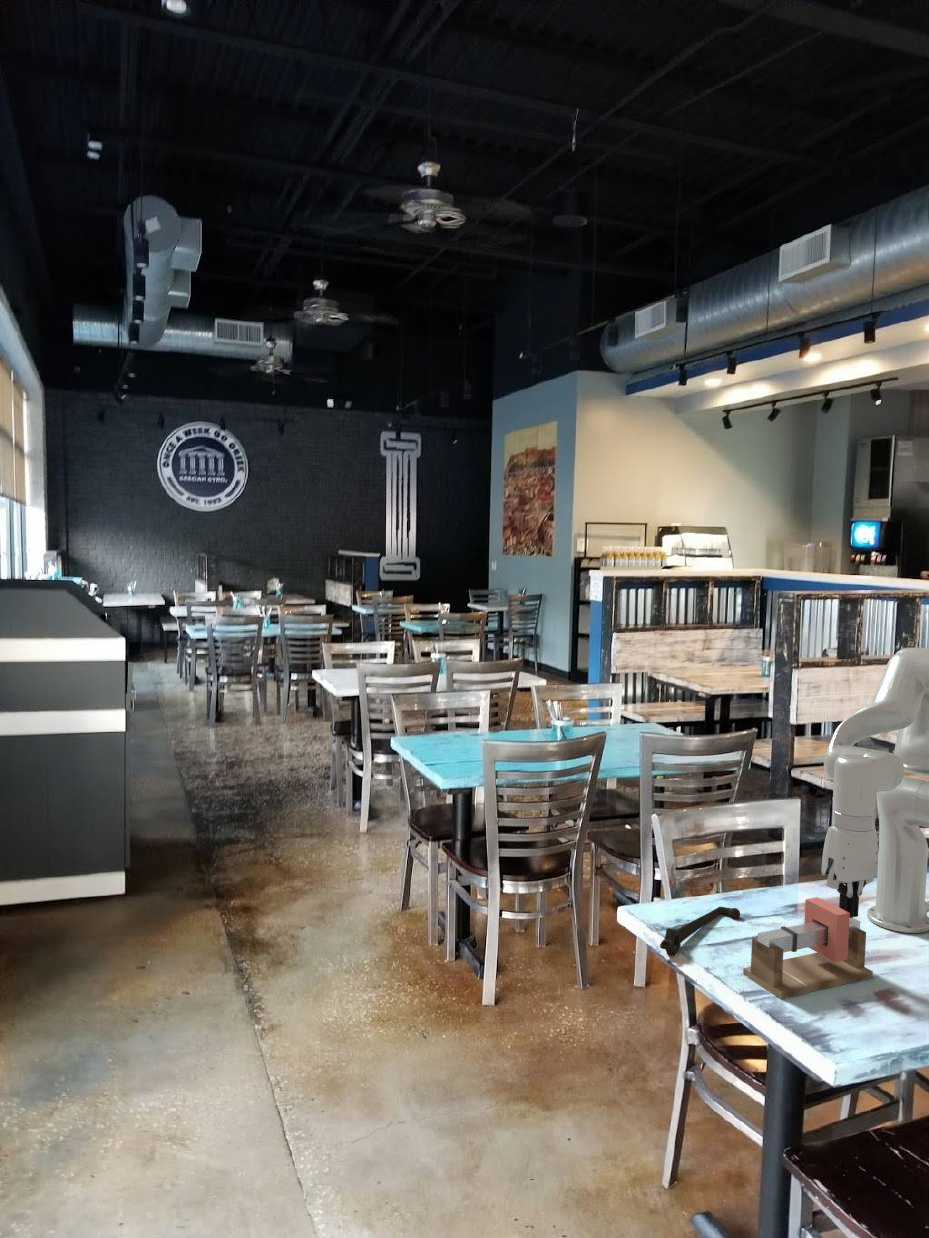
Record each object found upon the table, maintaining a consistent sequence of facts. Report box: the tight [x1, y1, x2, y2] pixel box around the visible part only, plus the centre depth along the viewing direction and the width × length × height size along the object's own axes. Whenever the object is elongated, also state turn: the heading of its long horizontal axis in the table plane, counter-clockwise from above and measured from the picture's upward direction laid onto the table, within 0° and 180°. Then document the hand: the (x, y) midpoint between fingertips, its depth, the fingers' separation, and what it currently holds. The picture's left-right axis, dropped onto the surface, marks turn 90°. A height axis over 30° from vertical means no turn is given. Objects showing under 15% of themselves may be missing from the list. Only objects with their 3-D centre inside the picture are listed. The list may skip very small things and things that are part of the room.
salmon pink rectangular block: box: [803, 896, 850, 962], centre depth 172 cm, size 3×8×9 cm, turn 23°
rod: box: [757, 917, 861, 954], centre depth 170 cm, size 22×3×3 cm, turn 113°
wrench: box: [659, 906, 741, 957], centre depth 187 cm, size 5×5×30 cm
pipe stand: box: [742, 928, 874, 1000], centre depth 170 cm, size 22×10×8 cm, turn 113°
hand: (848, 914), depth 173 cm, fingers closed
